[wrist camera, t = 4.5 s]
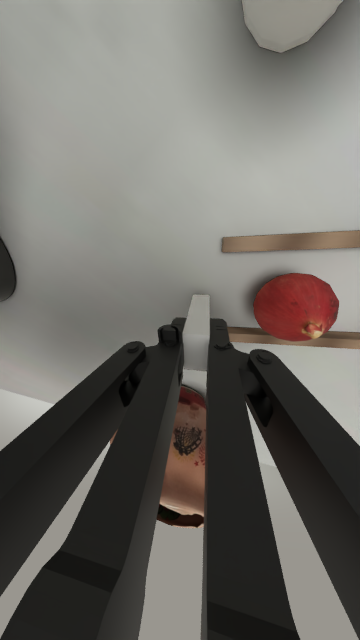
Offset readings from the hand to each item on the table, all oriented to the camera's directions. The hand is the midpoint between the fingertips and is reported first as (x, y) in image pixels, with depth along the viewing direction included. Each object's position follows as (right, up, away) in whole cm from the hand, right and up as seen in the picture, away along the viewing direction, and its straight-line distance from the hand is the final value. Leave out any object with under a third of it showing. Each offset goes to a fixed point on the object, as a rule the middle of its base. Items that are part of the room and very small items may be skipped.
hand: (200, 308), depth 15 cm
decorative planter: (-1, -16, +14) cm, 22 cm away
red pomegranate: (+8, +2, +2) cm, 9 cm away
